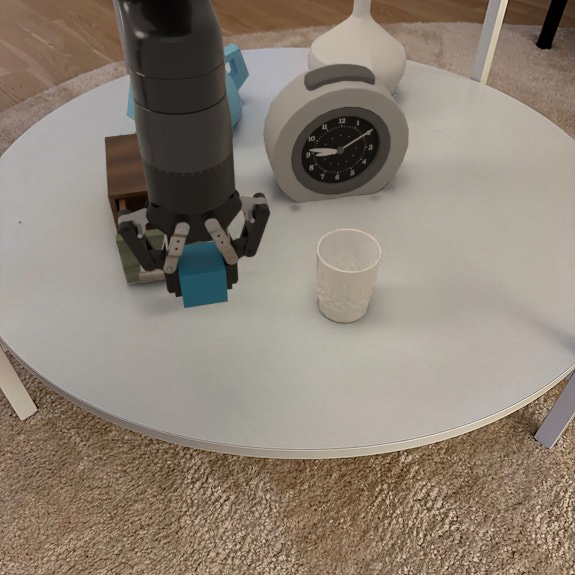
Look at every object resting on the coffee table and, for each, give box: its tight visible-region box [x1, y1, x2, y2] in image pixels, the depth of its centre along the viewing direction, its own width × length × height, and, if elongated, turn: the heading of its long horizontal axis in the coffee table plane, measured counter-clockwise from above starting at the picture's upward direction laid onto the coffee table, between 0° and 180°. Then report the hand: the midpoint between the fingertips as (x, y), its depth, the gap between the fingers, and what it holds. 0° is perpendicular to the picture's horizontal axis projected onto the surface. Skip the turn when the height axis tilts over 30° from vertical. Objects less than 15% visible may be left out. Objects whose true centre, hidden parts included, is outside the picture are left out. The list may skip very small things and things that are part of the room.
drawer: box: [115, 195, 204, 285], centre depth 82 cm, size 18×11×8 cm, turn 13°
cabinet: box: [104, 133, 148, 235], centre depth 90 cm, size 15×13×10 cm
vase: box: [307, 0, 407, 95], centre depth 111 cm, size 18×18×19 cm
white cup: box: [316, 228, 383, 324], centre depth 77 cm, size 8×8×10 cm
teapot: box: [126, 43, 250, 135], centre depth 106 cm, size 19×19×14 cm
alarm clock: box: [262, 64, 410, 203], centre depth 92 cm, size 21×8×20 cm, turn 102°
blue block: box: [177, 241, 229, 309], centre depth 60 cm, size 4×4×4 cm
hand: (203, 286), depth 61 cm, fingers closed on blue block, 4 cm apart
